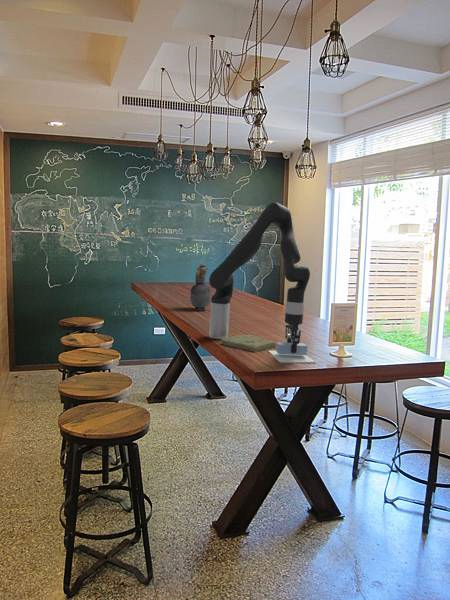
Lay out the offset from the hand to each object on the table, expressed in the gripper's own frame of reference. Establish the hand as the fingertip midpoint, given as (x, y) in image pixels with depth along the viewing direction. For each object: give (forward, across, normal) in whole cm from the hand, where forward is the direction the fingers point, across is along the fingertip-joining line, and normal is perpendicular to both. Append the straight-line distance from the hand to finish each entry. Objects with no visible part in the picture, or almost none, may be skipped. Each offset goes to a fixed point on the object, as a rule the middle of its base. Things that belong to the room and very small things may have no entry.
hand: (291, 351), depth 226 cm
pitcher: (+3, +126, +23) cm, 128 cm away
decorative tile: (+4, +22, +13) cm, 26 cm away
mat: (+3, 0, 0) cm, 3 cm away
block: (+1, 0, 0) cm, 1 cm away
